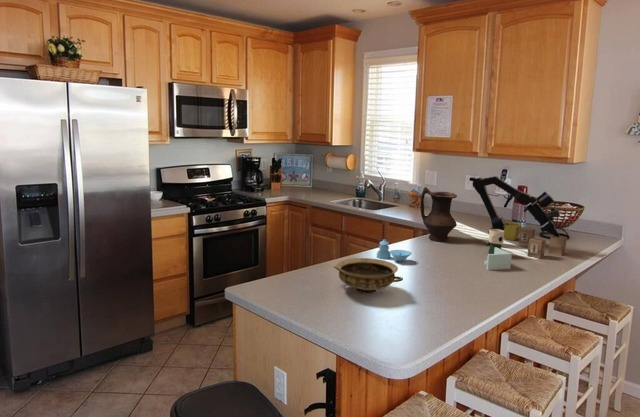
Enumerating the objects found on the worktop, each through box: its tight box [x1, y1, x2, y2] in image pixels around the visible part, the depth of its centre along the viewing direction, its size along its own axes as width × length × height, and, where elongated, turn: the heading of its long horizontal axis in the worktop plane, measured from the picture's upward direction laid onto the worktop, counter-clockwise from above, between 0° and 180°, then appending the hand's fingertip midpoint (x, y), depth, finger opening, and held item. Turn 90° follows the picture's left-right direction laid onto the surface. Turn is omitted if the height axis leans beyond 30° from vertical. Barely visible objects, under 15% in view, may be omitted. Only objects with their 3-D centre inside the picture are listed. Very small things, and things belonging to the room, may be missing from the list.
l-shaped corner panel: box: [484, 247, 513, 271], centre depth 229 cm, size 12×12×8 cm
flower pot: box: [504, 221, 522, 241], centre depth 284 cm, size 9×9×9 cm
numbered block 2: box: [527, 237, 547, 260], centre depth 247 cm, size 6×6×9 cm
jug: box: [419, 186, 458, 243], centre depth 277 cm, size 21×18×30 cm
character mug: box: [487, 228, 505, 255], centre depth 247 cm, size 11×7×13 cm, turn 140°
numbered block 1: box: [518, 227, 536, 247], centre depth 273 cm, size 6×6×9 cm
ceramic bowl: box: [333, 257, 404, 295], centre depth 190 cm, size 30×24×10 cm
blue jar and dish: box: [376, 238, 412, 263], centre depth 234 cm, size 18×10×9 cm, turn 49°
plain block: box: [548, 235, 568, 257], centre depth 255 cm, size 6×6×9 cm
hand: (558, 236), depth 254 cm, fingers closed, pressing on plain block
